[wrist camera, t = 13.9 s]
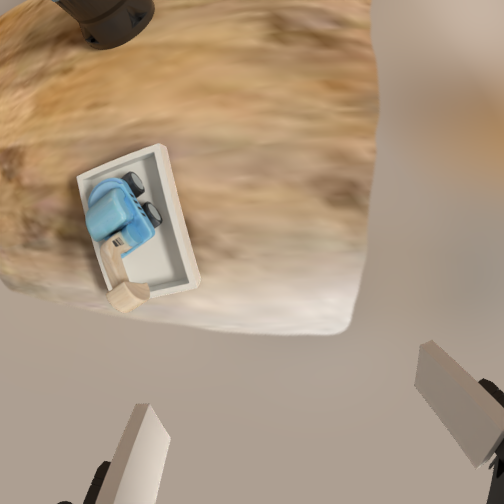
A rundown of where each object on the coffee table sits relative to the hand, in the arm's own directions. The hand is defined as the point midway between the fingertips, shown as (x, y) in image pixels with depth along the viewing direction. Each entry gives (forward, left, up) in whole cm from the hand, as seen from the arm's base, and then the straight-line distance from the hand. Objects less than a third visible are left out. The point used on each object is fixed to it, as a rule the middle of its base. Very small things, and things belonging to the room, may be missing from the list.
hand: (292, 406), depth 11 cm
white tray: (-8, -17, -35) cm, 40 cm away
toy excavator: (-8, -17, -33) cm, 38 cm away
